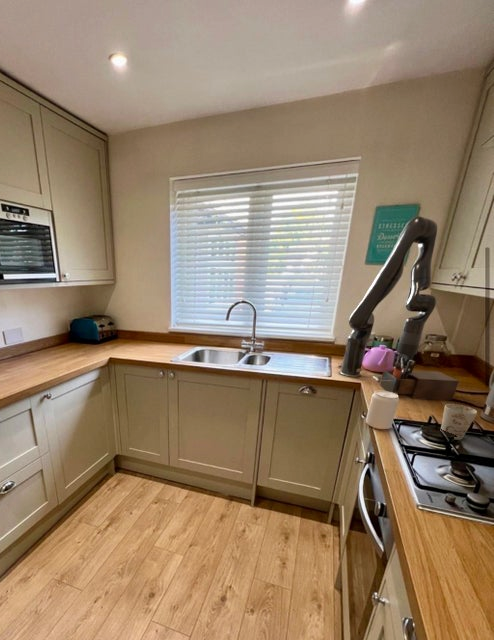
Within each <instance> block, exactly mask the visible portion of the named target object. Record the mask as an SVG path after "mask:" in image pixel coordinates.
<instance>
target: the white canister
mask: <svg viewBox="0 0 494 640" xmlns="http://www.w3.org/2000/svg"><path fill="white" fill-rule="evenodd" d="M399 402H400V398H399V395H398V393H396V392H395V393H392V392H388V391H387V390H375V391H374V393H372V394H371V398H370V402H369V406H368V410H367V414H366V418H365V423H366V424H367V425H368V426H370V427H371V428H374V429H378V430H389V429H391V428H392V426H393V423H394V419H395V416H396V412H397V409H398V405H399Z"/></svg>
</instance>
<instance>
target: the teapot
mask: <svg viewBox="0 0 494 640" xmlns="http://www.w3.org/2000/svg"><path fill="white" fill-rule="evenodd" d="M366 351H367V352H366ZM395 354H399V353H398V352H397V350H393V349H390V348H387V345H384V344H380V345H379V347H378V346H377V347H371V349H370V348H366V350H365V354H364V358H363V362H362V367H363V368H364V369H366V370H368V371H370V372H377V373H383V371H387V372H388V373H390V372H394V367H393V361H394V355H395Z"/></svg>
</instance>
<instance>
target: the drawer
mask: <svg viewBox="0 0 494 640" xmlns="http://www.w3.org/2000/svg"><path fill="white" fill-rule="evenodd" d="M393 372H394V371H391V372H387V371H383V372H382V375H381V376H376V375H372V376H371V377H372V380H374V381H375V382H377V383H379V386H380V387H382V388H383V389H384V390H385V391H388V392H392V393H395V394H403V395H408V394H413V393H414V389H415V386H416V383H417V379H415V378H413V377H411V376H410V375H408V376H407V379H400V382H398V381H399V379H398V378H396V377H395V376H393Z"/></svg>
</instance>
